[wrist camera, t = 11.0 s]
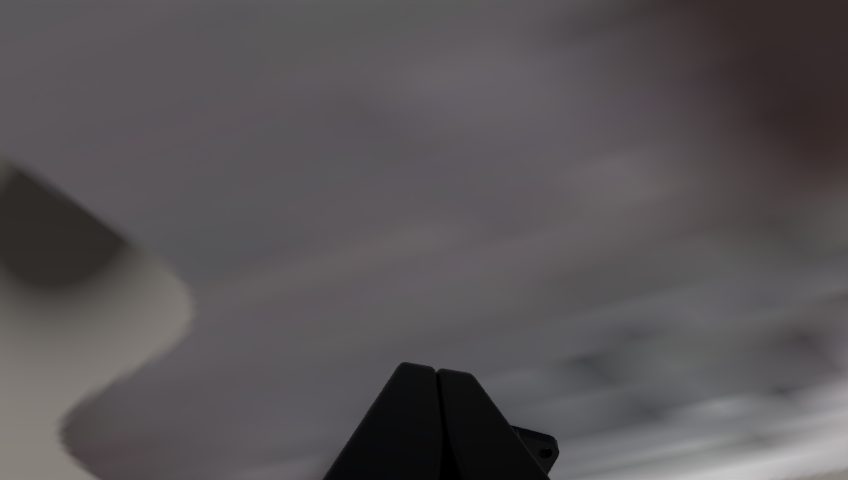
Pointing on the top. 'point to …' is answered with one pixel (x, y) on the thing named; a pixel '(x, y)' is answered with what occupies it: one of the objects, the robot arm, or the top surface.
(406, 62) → the top surface
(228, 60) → the top surface
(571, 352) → the top surface
